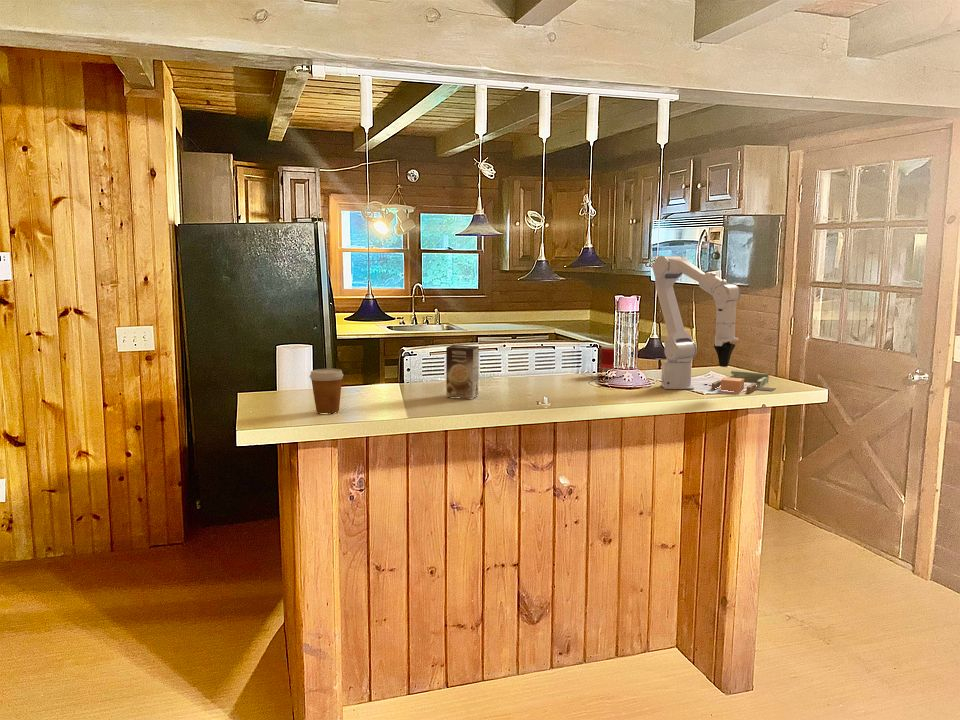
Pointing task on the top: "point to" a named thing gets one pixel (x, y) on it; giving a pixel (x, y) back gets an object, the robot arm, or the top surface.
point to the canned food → (607, 357)
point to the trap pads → (765, 389)
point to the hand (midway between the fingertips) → (723, 366)
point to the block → (732, 384)
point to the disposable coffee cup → (327, 389)
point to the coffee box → (462, 371)
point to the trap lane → (746, 379)
